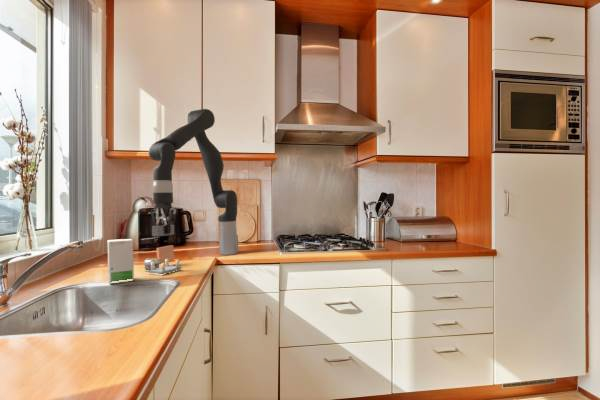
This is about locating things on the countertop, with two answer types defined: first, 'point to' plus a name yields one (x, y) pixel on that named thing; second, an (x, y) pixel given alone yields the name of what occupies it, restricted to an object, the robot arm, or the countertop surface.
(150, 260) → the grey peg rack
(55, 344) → the countertop surface
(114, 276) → the skincare box
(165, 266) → the peg board
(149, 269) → the base
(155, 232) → the steel bar
